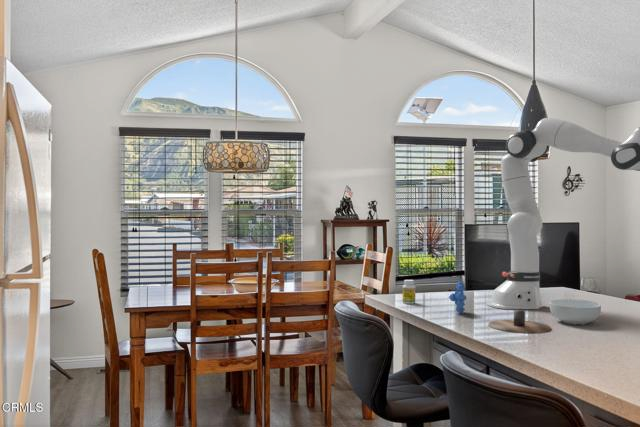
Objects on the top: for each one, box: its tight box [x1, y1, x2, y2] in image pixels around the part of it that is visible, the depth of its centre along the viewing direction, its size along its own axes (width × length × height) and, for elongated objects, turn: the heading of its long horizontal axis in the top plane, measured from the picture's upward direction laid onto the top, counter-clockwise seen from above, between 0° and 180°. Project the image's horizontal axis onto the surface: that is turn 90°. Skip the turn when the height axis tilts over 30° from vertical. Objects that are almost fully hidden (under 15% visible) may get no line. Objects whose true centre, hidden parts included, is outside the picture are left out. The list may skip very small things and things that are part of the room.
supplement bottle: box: [402, 279, 416, 305], centre depth 253 cm, size 5×5×10 cm
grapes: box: [448, 281, 467, 315], centre depth 230 cm, size 12×7×12 cm, turn 169°
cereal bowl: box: [548, 298, 602, 326], centre depth 212 cm, size 17×17×7 cm
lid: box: [488, 309, 552, 334], centre depth 203 cm, size 20×20×6 cm
